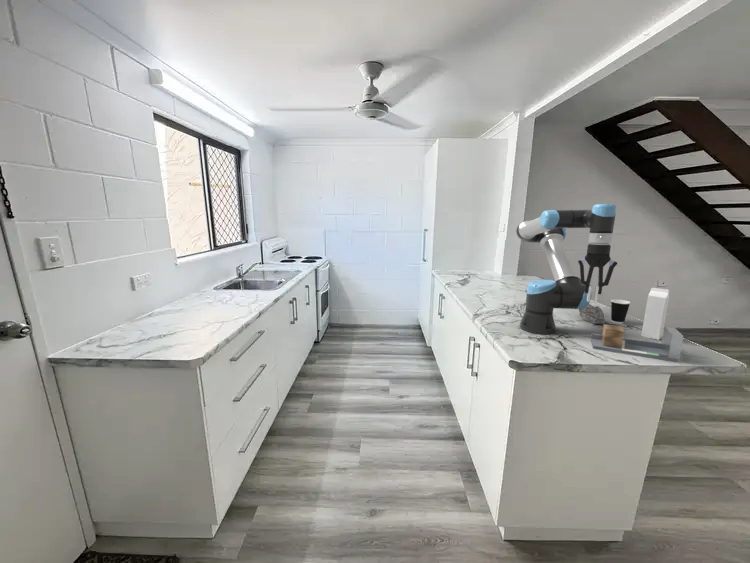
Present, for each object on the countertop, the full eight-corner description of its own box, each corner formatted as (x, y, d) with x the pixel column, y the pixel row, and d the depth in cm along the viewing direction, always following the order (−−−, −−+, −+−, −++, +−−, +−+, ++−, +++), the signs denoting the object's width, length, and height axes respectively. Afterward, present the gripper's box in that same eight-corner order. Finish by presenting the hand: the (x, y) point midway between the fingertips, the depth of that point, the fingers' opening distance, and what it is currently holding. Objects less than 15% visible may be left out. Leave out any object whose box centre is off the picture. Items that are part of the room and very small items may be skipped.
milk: (658, 340, 137) (667, 290, 132) (640, 336, 141) (649, 288, 137) (662, 337, 140) (671, 288, 136) (644, 333, 145) (653, 286, 140)
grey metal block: (668, 357, 117) (672, 334, 115) (660, 348, 126) (664, 326, 124) (678, 359, 116) (683, 336, 114) (670, 349, 124) (674, 327, 122)
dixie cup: (603, 320, 164) (606, 299, 161) (618, 319, 164) (621, 299, 162) (616, 325, 156) (620, 303, 154) (631, 324, 156) (635, 303, 154)
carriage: (603, 345, 127) (606, 329, 126) (601, 340, 133) (603, 324, 132) (624, 349, 124) (626, 332, 123) (621, 343, 130) (623, 326, 129)
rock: (572, 314, 171) (575, 298, 168) (588, 314, 171) (592, 297, 167) (588, 329, 157) (592, 311, 153) (606, 329, 156) (610, 311, 152)
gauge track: (592, 348, 128) (593, 341, 128) (590, 340, 137) (591, 333, 136) (678, 362, 116) (679, 354, 115) (669, 352, 124) (671, 344, 124)
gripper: (577, 243, 126) (570, 301, 130) (624, 245, 119) (615, 305, 123) (576, 242, 132) (570, 297, 137) (621, 243, 125) (612, 301, 130)
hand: (591, 301), depth 130 cm, fingers open, 2 cm apart
